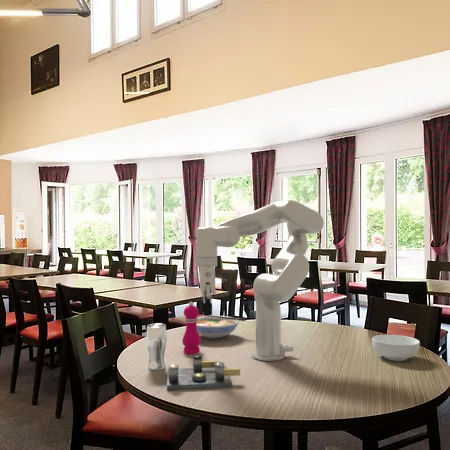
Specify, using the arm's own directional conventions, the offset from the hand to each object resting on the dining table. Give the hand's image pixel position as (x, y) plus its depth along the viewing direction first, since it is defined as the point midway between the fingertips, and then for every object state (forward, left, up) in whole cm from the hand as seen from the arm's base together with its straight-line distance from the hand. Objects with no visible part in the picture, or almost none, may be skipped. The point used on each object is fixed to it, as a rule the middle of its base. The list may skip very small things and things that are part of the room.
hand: (206, 312), depth 160 cm
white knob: (+12, +14, -18) cm, 25 cm away
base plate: (+4, +12, -19) cm, 23 cm away
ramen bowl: (-6, -44, -20) cm, 48 cm away
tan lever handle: (+1, +8, -18) cm, 19 cm away
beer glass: (+18, -3, -20) cm, 27 cm away
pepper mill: (+5, -21, -20) cm, 29 cm away
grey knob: (-5, +17, -18) cm, 25 cm away
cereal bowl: (-71, -3, -20) cm, 74 cm away
